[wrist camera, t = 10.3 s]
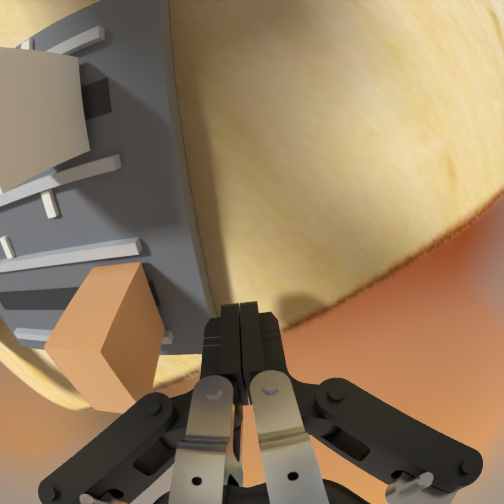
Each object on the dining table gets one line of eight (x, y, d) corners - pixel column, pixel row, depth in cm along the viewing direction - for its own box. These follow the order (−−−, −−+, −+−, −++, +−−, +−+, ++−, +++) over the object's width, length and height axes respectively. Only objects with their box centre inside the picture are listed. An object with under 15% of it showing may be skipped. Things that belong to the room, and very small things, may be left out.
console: (-46, 114, 8) (-69, 121, 6) (168, -4, 8) (155, -23, 6) (29, 331, 18) (17, 351, 16) (219, 329, 18) (219, 359, 16)
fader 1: (32, 81, 7) (-58, 92, 3) (78, 57, 7) (-14, 47, 3) (44, 166, 10) (-39, 214, 5) (90, 150, 10) (2, 194, 5)
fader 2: (93, 267, 12) (43, 347, 8) (140, 261, 12) (100, 351, 8) (122, 329, 15) (95, 409, 10) (165, 328, 15) (147, 415, 10)
